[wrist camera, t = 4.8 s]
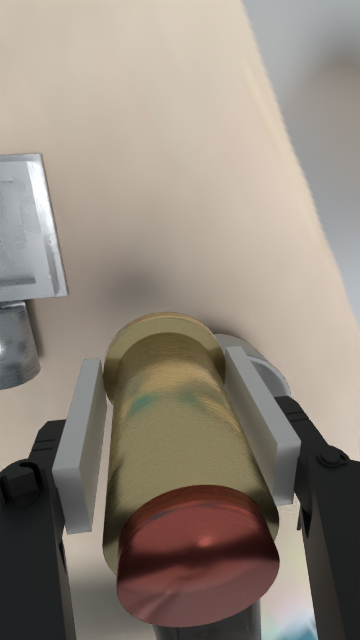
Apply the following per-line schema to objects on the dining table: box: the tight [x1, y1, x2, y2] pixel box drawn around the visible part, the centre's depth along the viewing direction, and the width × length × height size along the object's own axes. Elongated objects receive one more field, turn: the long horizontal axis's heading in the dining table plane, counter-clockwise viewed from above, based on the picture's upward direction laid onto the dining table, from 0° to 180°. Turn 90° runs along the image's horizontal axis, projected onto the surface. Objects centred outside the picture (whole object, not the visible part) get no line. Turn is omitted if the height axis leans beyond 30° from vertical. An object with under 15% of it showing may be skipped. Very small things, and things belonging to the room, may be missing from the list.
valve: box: [102, 312, 280, 627], centre depth 13 cm, size 6×6×10 cm
